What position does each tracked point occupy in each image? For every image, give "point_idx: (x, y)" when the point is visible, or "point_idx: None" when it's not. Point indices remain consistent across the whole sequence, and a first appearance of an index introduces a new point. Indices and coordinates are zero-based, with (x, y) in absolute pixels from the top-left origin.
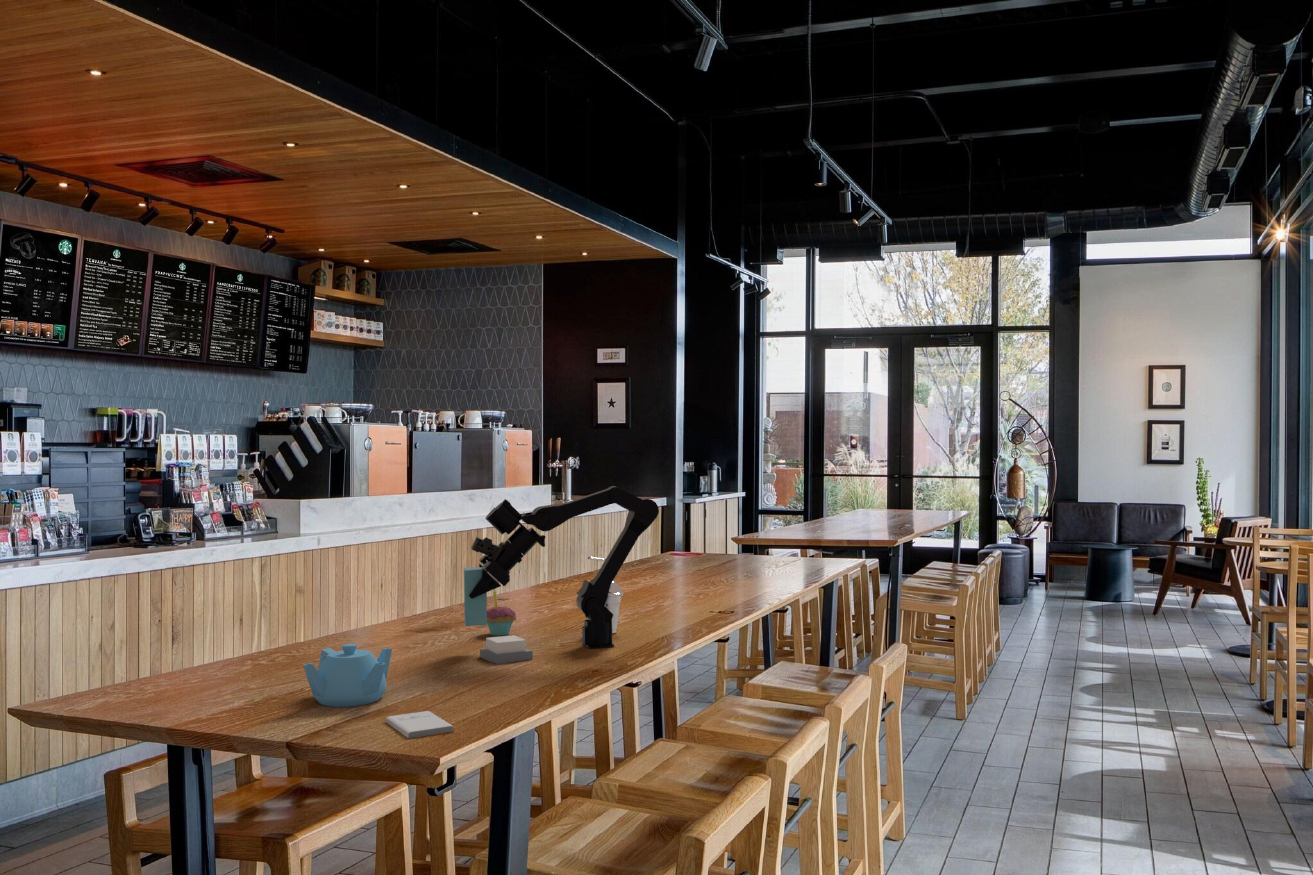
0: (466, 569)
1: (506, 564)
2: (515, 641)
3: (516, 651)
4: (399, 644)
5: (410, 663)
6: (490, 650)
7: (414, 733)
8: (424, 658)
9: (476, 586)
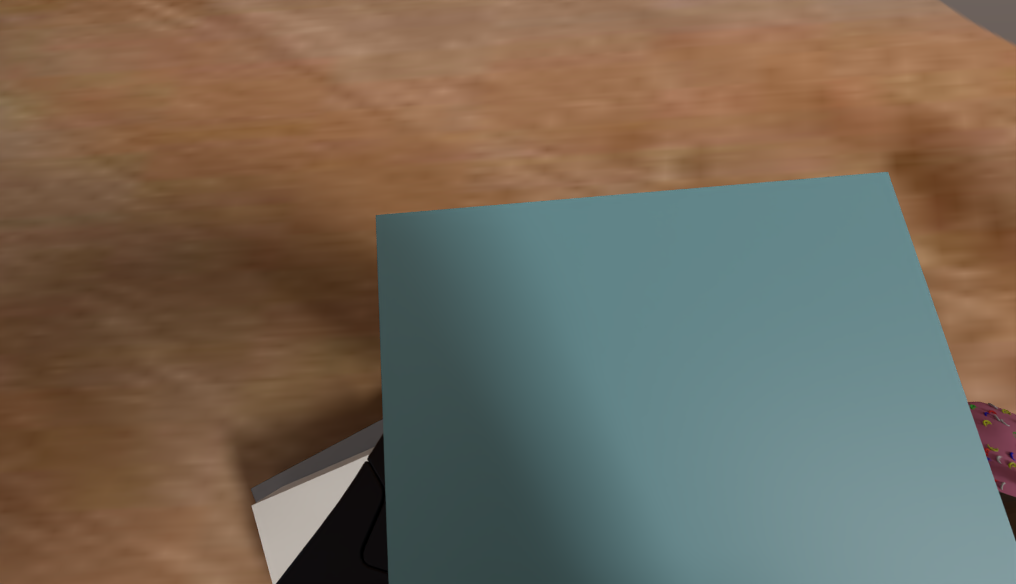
0: (649, 243)
1: None
2: None
3: None
4: (681, 114)
5: (357, 167)
6: (359, 453)
7: None
8: (432, 205)
9: (380, 444)
